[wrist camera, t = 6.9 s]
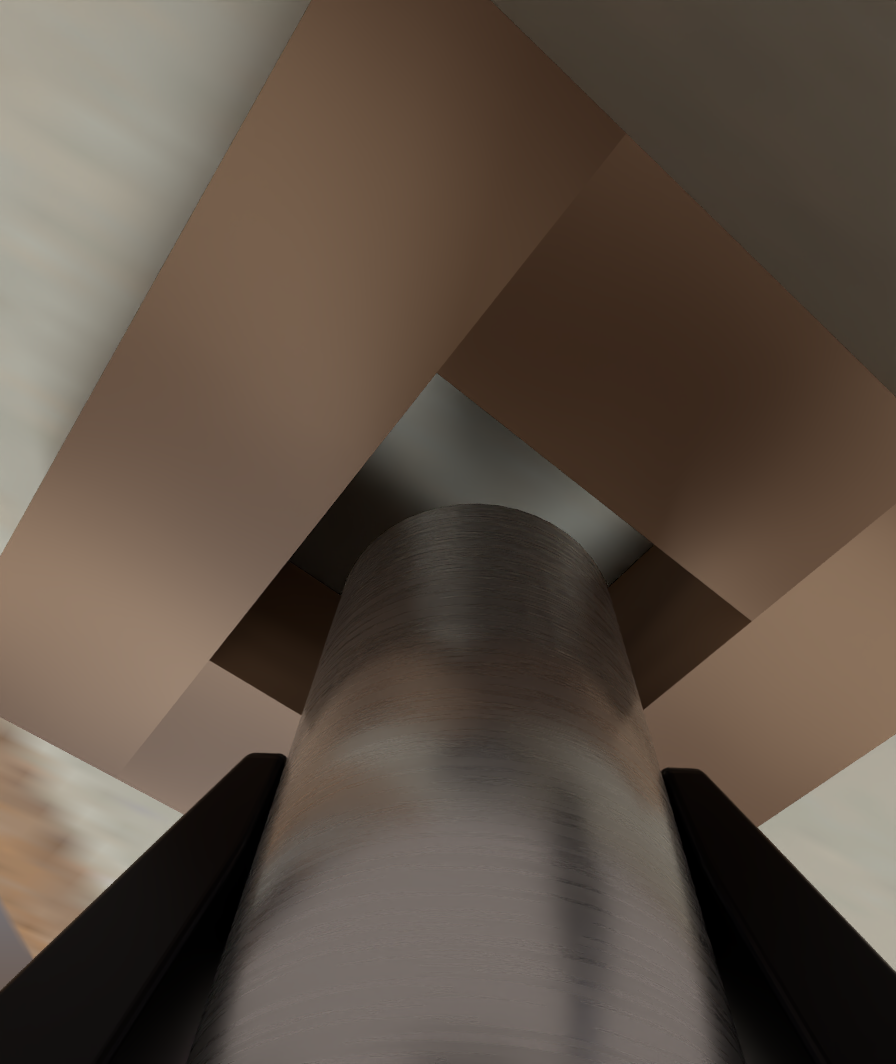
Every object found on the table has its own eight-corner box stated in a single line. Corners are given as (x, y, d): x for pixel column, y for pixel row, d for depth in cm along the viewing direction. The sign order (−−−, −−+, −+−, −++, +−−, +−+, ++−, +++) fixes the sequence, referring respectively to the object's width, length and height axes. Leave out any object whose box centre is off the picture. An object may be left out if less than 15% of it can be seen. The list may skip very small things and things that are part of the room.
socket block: (409, -23, 10) (373, -113, 7) (948, 490, 13) (1100, 596, 10) (51, 567, 14) (-70, 680, 11) (509, 841, 17) (514, 990, 14)
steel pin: (451, 441, 9) (341, 1392, 2) (676, 613, 10) (1116, 1639, 3) (283, 640, 11) (-109, 1568, 4) (492, 771, 12) (504, 1693, 5)
